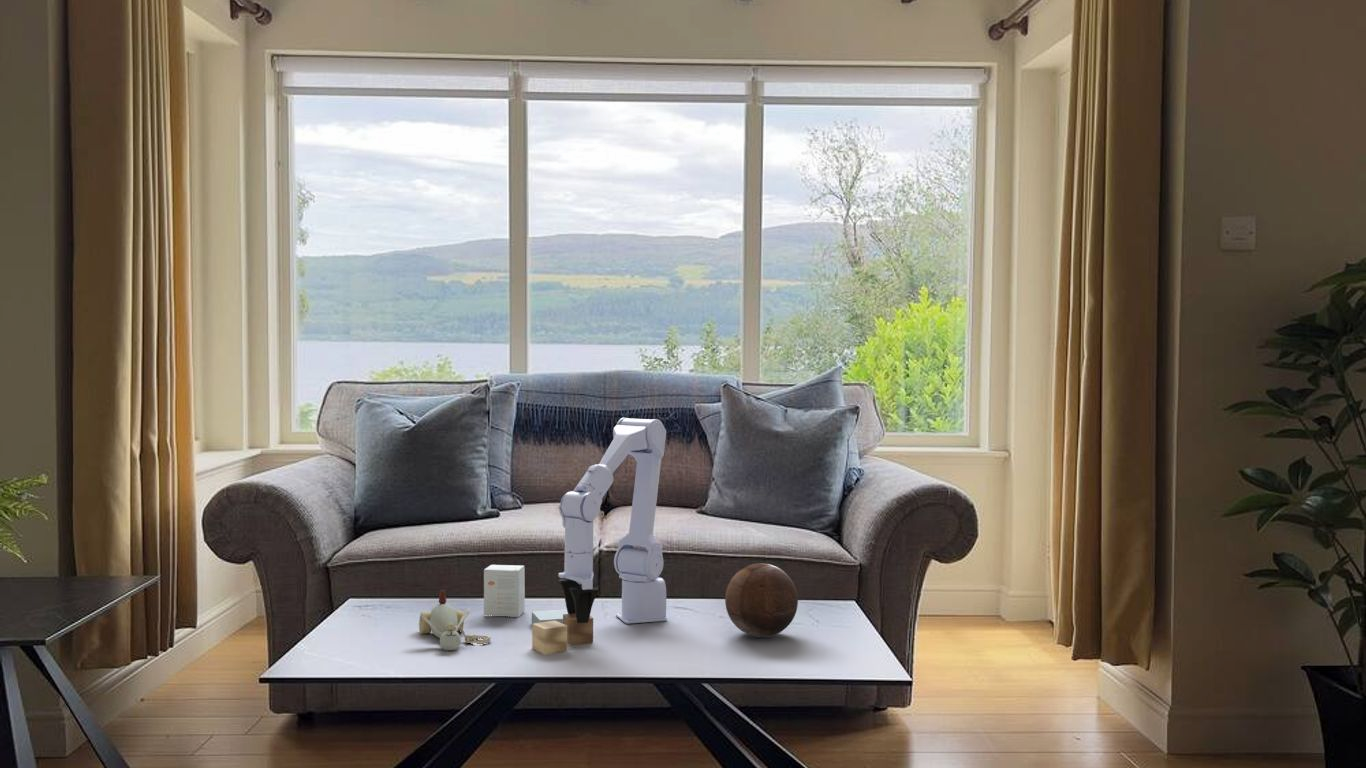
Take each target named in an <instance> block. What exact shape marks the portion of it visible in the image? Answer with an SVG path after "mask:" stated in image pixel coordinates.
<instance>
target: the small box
mask: <svg viewBox="0 0 1366 768" xmlns="http://www.w3.org/2000/svg"><path fill="white" fill-rule="evenodd" d="M525 573H526V572H525V565H513V564H511V565H509V564H490V565H489V566H487V567H486V568H484V569H483V616H484V615H488V616H487V617H492V616H508V617H507V618H519V617H521V615H523V613H524V612H525V609H526V603H525V602H526V599H525V598H526V595H525V593H526V591H525V590H526V589H525V582H526V581H525V579H526V578H525V576H526V575H525ZM489 615H490V616H489ZM491 615H492V616H491ZM509 616H510V617H509Z"/></svg>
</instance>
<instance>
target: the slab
mask: <svg viewBox="0 0 1366 768" xmlns="http://www.w3.org/2000/svg"><path fill="white" fill-rule="evenodd" d="M563 614H568V612H567V608H561V609H549V610H535V611H534V610H533V611H531V625H532V624H534V623H541V622H547V621H554V620H555V621H558V622H560V623H562V624H563Z"/></svg>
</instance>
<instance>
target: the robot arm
mask: <svg viewBox="0 0 1366 768" xmlns="http://www.w3.org/2000/svg"><path fill="white" fill-rule="evenodd" d="M612 437H613V439H612V441H611V443H610V444H609V446H608V448H607V449H606V451H605V453H604V454H603V456H602V458H601V460H600V462H599V464H593V465H590V466H589V467H588V468H587V471H586V472H585V473H584V475H583V476H582V478H581V479H580V480H579V482H578V484H577V485H576V486H575V488H574V489H573V490H571V491H568V492H566V493H564V495H563V496H562V497H561V500H560V502H559V503H560V504H559V505H558V511H559V515H560V516H561V518H562V524H561V525H562V526H563V528H564V563H563V564H564V571H563V572H558V578H559V579H558V583H559V585H560V587H561V590H562V592H563V596H564V601H565V609H567V612H568V614H574V613H576V619H577V622H578V623H588V621H589V617H590V616H591V612H592V609H593V604H594V602H595V600H596V597H597V595H598V594H599V591H600V589H599V587H593V584H594V575H595V574H594V569H593V568H594V521H595V520H596V519H597V518H598V516H599V514H600V511H601V505H602V503H603V502H602V501H603V498H604V496H605V495H606V493H607V492H608V491H609V488H610V487H611V486H612V484H614V475H613V474H614V472H615V471H616V470H617V468H618V467H619V466H620V465H621V464H622V462H624V460H625V459H626V458H627V457H628V456H629V455H630V456H632V457H633V458H634V460H635V462H636V468H635V477H634V478H635V479H634V486H633V495H632V496H633V497H632V505H631V514H630V522H629V530H628V531H629V532H628V533H627V534H626V535H625V536H623V537H622V538H620V539H619V540H618V547H617V550H616V552H615V554H614V558H613V565H614V570H615V571H616V573H617V574H618V575H619V576H618V578H619V579H621V612H618V613H615V616H616V617H618V618H619V620H621V621H622V622H623V623H625V624H629V625H630V624H639V623H651V622H652V623H653V622H655V623H656V622H665V621H668V618H667V587H666V581H665V579H664V578H662V577H660V575H661V574H662V571H663V569H664V557H663V548H664V545H663V544H662V543H661V542H660V541H659V540H658V539H657V538H656V537H655V535H654V529H655V519H656V511H657V510H656V509H657V502H658V501H657V499H658V493H659V492H658V491H659V484H660V483H659V482H660V473H661V464H662V458H664V456H665V447H666V438H667V429H666V428H665V426H664V424H663V422H662V421H661V420H660V419H658V418H654V419H650V418H649V419H648V418H647V419H646V418H645V419H644V418H629V417H621V418H620V419H619V420H618V421H617V423H616V425H615V426H614V427H613V430H612ZM637 547H643V548H637Z"/></svg>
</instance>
